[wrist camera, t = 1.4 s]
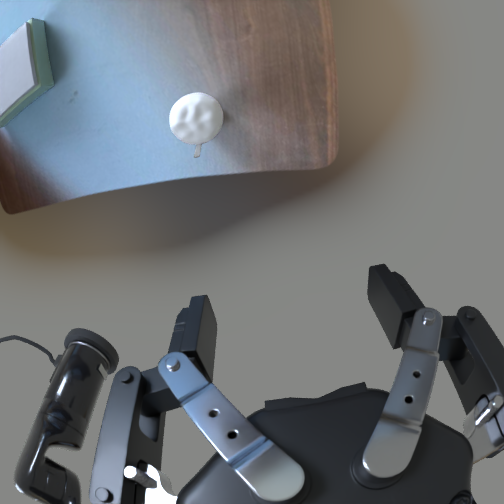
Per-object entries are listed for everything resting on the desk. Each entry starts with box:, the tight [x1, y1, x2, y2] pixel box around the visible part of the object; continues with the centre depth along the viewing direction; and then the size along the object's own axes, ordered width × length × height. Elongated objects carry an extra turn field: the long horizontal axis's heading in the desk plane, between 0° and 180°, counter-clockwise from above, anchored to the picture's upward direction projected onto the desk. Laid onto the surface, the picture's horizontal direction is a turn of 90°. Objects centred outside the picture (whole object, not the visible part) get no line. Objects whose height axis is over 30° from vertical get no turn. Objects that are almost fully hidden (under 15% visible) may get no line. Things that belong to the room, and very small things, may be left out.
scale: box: [0, 18, 54, 128], centre depth 20 cm, size 12×12×4 cm
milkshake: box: [169, 93, 223, 158], centre depth 24 cm, size 4×5×10 cm
